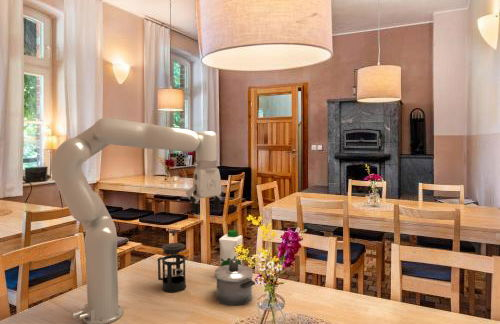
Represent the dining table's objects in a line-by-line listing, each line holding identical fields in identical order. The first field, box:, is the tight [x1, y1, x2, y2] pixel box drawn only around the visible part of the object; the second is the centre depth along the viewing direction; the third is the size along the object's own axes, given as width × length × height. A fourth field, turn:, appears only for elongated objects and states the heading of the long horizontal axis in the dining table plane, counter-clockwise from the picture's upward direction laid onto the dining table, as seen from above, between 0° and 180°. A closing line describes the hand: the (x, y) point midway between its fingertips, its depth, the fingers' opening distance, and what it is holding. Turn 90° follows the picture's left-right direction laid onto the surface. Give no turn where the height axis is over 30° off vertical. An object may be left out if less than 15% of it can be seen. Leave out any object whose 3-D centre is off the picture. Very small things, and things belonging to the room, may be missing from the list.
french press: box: [157, 229, 187, 294], centre depth 141 cm, size 12×9×23 cm
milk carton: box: [218, 229, 243, 267], centre depth 150 cm, size 9×9×20 cm
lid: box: [214, 259, 254, 282], centre depth 132 cm, size 14×14×5 cm
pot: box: [213, 272, 256, 307], centre depth 132 cm, size 14×17×9 cm
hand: (206, 211), depth 131 cm, fingers open, 9 cm apart
